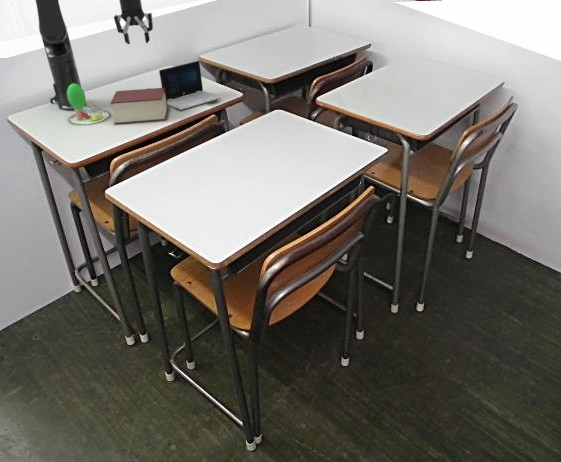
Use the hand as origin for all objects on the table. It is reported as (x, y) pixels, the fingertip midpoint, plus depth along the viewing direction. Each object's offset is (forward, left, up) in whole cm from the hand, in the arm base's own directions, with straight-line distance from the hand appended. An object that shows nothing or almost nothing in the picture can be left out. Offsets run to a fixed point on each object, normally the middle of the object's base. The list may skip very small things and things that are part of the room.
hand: (138, 43), depth 201 cm
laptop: (+18, -8, -22) cm, 29 cm away
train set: (-20, -17, -22) cm, 34 cm away
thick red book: (0, -20, -22) cm, 29 cm away
